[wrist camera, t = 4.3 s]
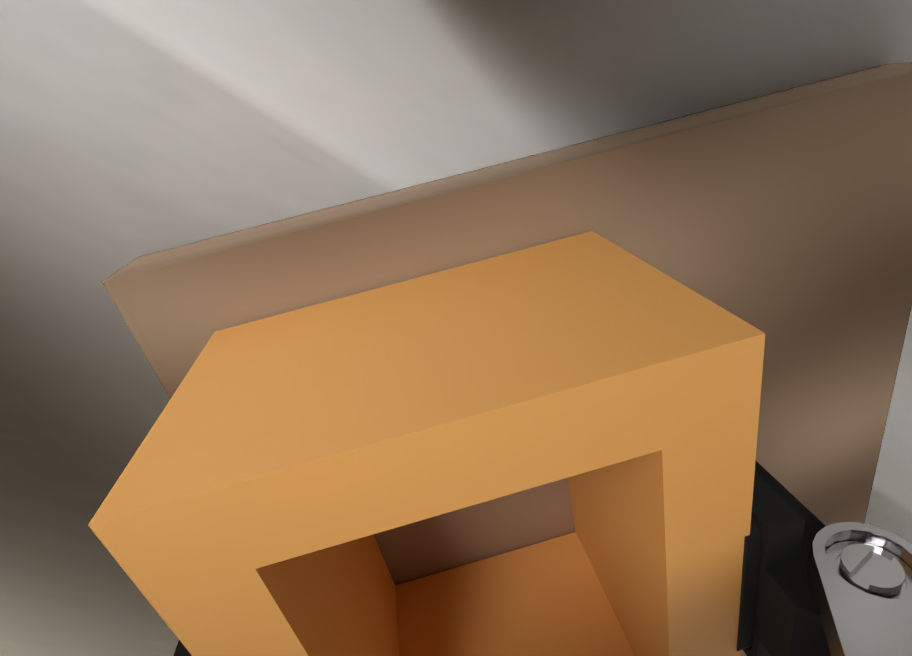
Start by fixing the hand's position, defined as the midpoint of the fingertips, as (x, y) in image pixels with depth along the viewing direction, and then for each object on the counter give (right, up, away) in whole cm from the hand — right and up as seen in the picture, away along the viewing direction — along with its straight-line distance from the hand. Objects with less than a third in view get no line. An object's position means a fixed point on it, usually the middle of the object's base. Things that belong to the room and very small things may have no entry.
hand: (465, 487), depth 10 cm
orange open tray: (0, 0, +1) cm, 1 cm away
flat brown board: (+4, -3, +5) cm, 6 cm away
